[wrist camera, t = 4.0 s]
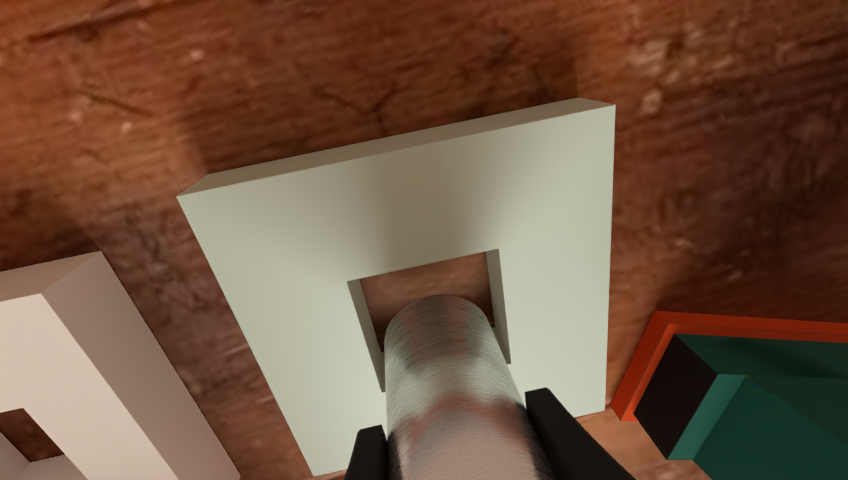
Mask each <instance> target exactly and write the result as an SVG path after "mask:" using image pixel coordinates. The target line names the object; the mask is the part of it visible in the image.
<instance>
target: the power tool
mask: <svg viewBox="0 0 848 480" xmlns="http://www.w3.org/2000/svg"><path fill="white" fill-rule="evenodd" d="M610 406H611V407H612V409H613V410H614V412H615V413H616V415H617V416H618V418H619V419H620V421H639V423H640V424H641V425H642V427H643V428H644V430H645V431H646V432H647V434H648V435H649V436H650V438H651V439H652V441H653V442H654V443H655V445H656V446H657V448H658V449H659V450H660V452H661V453H662V454H663V456H664V457H665V459H666V460H693V461H694V462H695V463H696V464H697V465H698V466H699V467H700V468H701V469H702V470H703V471H704V472H705V473H706V474H707V475H708V476H709V477H710V478H711V479H712V480H848V323H837V322H821V321H806V320H791V319H776V318H761V317H746V316H731V315H715V314H700V313H685V312H670V311H655V310H654V312H653V314H652V317H651V319H650V321H649V323H648V325H647V327H646V329H645V331H644V334H643V336H642V338H641V340H640V342H639V344H638V346H637V348H636V351H635V353H634V355H633V357H632V359H631V361H630V363H629V365H628V368H627V370H626V372H625V374H624V376H623V378H622V380H621V383H620V385H619V387H618V389H617V391H616V393H615V395H614V397H613V400H612V402H611V404H610Z"/></svg>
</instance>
